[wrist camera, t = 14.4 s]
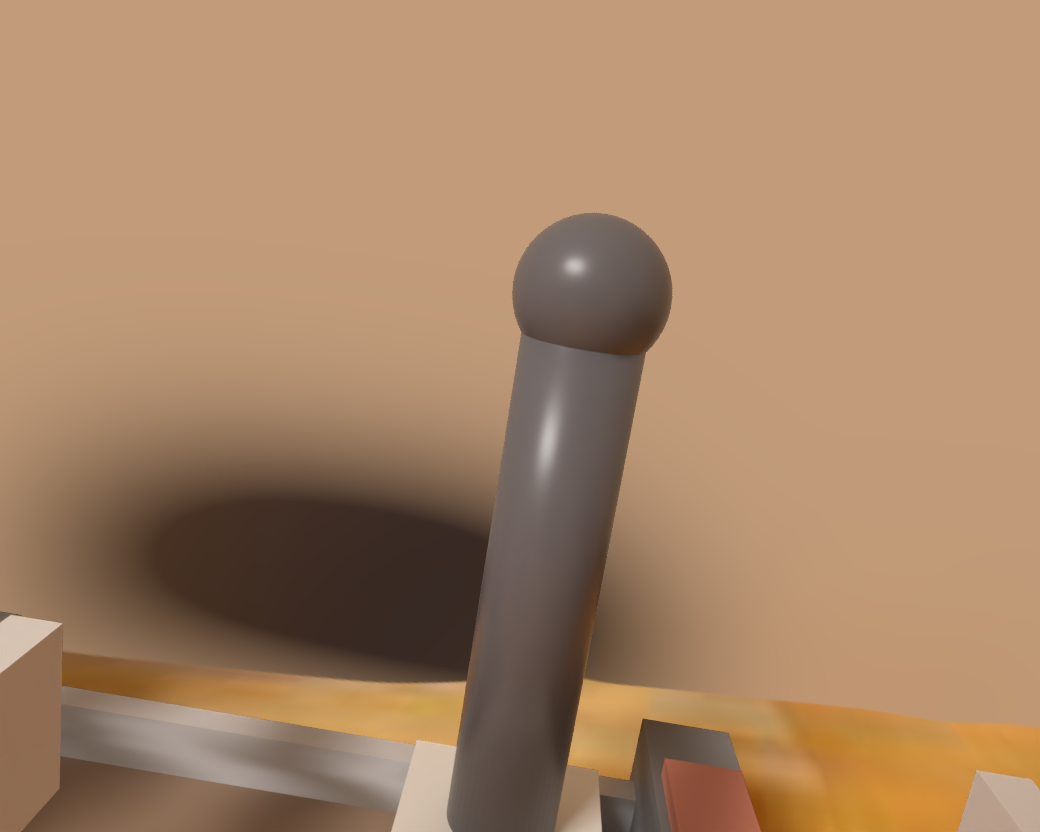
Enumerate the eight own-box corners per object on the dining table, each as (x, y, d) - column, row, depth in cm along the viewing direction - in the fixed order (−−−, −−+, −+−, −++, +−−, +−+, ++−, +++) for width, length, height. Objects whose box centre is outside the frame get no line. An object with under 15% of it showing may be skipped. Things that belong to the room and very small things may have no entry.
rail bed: (696, 866, 31) (731, 717, 29) (758, 1165, 21) (816, 963, 20) (-63, 738, 31) (-63, 585, 30) (-347, 974, 21) (-367, 762, 20)
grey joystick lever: (583, 842, 28) (706, 231, 24) (588, 1002, 23) (752, 234, 18) (406, 812, 29) (495, 198, 24) (366, 965, 23) (473, 190, 18)
